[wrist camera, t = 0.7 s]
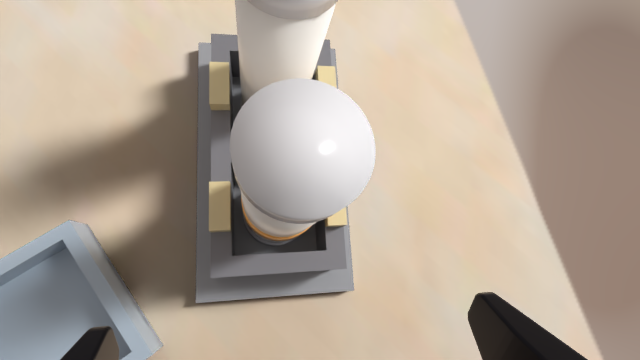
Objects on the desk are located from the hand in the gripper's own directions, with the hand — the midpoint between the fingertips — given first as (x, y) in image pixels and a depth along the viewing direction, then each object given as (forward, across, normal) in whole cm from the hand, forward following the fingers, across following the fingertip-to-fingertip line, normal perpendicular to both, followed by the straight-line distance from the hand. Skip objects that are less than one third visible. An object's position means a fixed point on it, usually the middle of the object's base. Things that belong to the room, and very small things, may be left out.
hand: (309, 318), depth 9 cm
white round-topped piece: (+12, 0, +6) cm, 13 cm away
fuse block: (+15, 0, +4) cm, 15 cm away
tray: (+8, +12, +10) cm, 18 cm away
